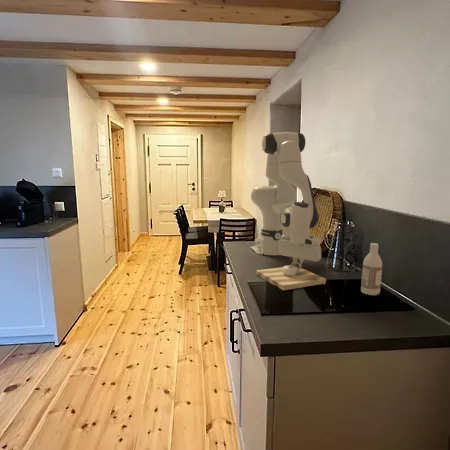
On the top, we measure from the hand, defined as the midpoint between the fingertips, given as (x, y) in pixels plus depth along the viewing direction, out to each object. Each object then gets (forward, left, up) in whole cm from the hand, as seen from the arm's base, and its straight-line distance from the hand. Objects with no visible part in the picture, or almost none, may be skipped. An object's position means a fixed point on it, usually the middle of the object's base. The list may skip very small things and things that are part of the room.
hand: (298, 267), depth 152 cm
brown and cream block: (+1, -4, -1) cm, 5 cm away
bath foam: (+30, +13, -4) cm, 33 cm away
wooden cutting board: (+3, -7, -4) cm, 8 cm away
